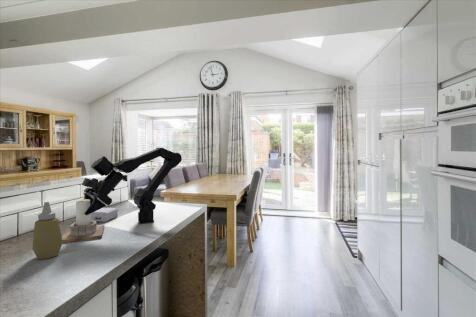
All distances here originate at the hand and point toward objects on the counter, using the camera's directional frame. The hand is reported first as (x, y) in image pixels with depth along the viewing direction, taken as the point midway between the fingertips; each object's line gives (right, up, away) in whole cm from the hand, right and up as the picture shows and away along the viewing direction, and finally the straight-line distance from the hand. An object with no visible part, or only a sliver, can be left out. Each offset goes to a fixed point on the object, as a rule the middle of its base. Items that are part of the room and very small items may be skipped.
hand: (81, 212), depth 103 cm
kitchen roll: (0, -8, +1) cm, 8 cm away
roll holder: (0, -9, +1) cm, 9 cm away
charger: (-3, -9, +27) cm, 28 cm away
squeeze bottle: (0, -11, -19) cm, 22 cm away
